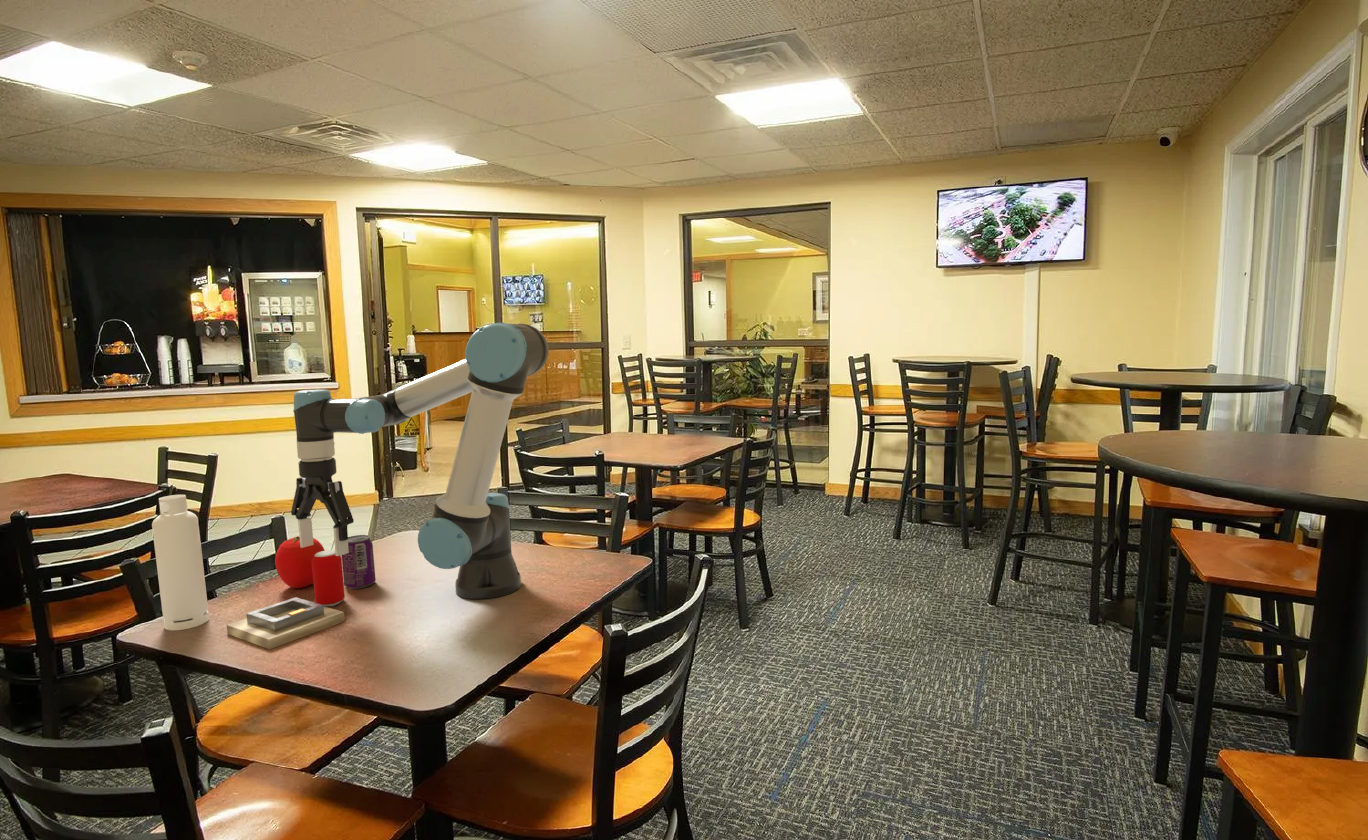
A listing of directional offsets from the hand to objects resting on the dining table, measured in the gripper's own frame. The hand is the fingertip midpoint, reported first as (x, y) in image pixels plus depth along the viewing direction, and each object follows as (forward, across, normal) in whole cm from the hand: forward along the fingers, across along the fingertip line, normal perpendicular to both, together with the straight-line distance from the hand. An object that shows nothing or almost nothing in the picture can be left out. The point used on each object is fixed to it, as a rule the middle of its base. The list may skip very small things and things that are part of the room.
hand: (324, 550), depth 166 cm
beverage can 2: (+13, +4, -11) cm, 18 cm away
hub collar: (+11, -5, +13) cm, 18 cm away
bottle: (+13, +18, +22) cm, 31 cm away
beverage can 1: (+13, 0, 0) cm, 13 cm away
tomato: (+13, +18, -4) cm, 22 cm away
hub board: (+13, -6, +13) cm, 19 cm away
